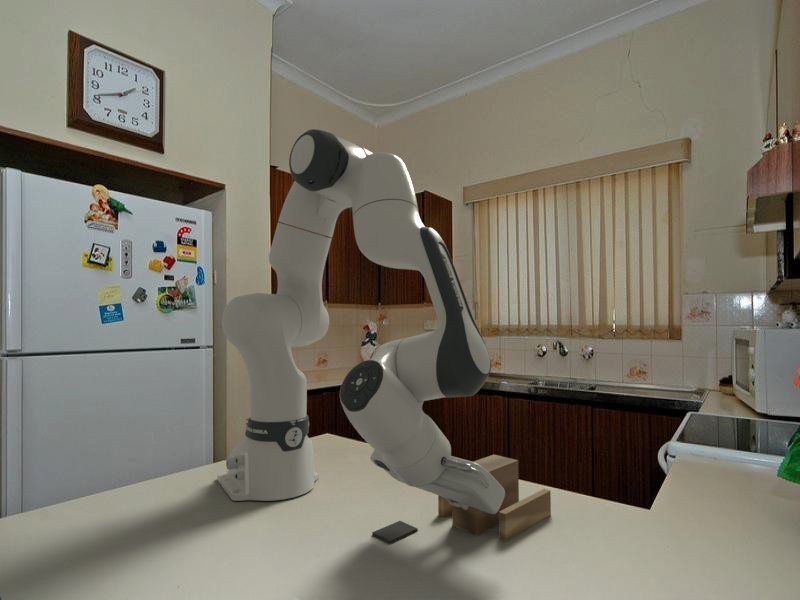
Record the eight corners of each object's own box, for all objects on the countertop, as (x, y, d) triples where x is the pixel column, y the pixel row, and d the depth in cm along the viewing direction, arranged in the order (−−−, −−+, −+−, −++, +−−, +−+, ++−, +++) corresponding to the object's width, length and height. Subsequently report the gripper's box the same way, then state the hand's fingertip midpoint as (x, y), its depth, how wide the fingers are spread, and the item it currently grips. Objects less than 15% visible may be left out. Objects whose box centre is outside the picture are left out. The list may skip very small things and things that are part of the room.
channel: (438, 514, 78) (438, 491, 78) (485, 493, 88) (485, 472, 88) (505, 541, 68) (505, 514, 69) (550, 514, 78) (550, 490, 78)
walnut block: (452, 525, 74) (452, 469, 74) (494, 504, 82) (493, 454, 83) (477, 535, 70) (477, 476, 71) (519, 513, 79) (518, 460, 79)
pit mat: (372, 534, 71) (372, 532, 71) (399, 523, 75) (399, 520, 75) (389, 543, 68) (389, 541, 68) (417, 530, 72) (417, 528, 72)
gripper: (487, 448, 60) (527, 503, 66) (383, 423, 75) (424, 471, 81) (467, 491, 57) (511, 545, 63) (362, 457, 71) (406, 503, 78)
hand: (461, 503), depth 72 cm, fingers closed, pressing on walnut block
